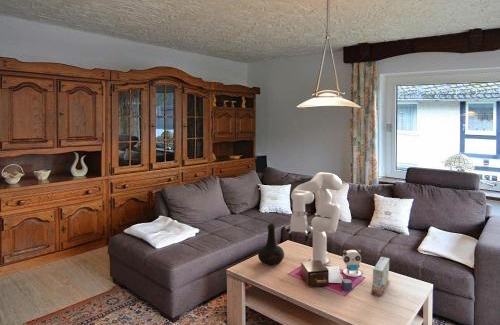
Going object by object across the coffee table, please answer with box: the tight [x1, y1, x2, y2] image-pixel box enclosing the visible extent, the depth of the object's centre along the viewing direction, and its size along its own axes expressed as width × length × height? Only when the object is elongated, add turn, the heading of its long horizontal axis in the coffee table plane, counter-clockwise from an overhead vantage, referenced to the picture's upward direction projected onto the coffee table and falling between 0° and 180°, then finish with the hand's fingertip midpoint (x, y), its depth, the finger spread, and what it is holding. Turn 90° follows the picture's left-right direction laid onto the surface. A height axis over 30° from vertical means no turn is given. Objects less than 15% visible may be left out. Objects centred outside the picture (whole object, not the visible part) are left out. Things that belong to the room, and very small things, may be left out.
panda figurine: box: [341, 249, 363, 278], centre depth 225 cm, size 12×11×15 cm
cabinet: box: [300, 260, 329, 288], centre depth 216 cm, size 15×13×10 cm
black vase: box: [257, 223, 285, 267], centre depth 241 cm, size 18×18×28 cm
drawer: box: [309, 272, 330, 288], centre depth 211 cm, size 18×11×8 cm, turn 8°
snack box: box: [371, 256, 391, 297], centre depth 205 cm, size 21×6×15 cm, turn 148°
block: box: [341, 278, 353, 291], centre depth 206 cm, size 4×4×4 cm
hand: (298, 240), depth 215 cm, fingers open, 9 cm apart
